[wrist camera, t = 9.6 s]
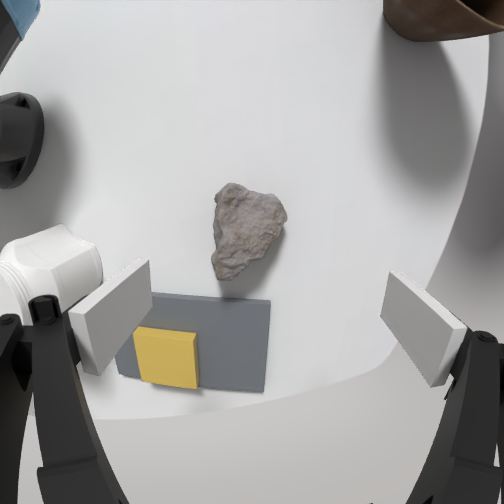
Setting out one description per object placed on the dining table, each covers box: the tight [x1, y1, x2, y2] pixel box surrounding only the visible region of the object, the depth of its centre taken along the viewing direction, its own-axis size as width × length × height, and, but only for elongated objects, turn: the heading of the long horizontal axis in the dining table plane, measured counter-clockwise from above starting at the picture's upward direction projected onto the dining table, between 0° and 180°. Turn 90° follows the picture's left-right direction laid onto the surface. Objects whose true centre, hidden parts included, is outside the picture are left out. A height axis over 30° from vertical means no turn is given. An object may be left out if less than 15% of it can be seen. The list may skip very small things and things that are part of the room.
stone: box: [211, 183, 287, 281], centre depth 31 cm, size 10×8×6 cm
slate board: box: [115, 292, 271, 392], centre depth 37 cm, size 22×14×1 cm, turn 88°
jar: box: [0, 224, 102, 326], centre depth 28 cm, size 12×10×15 cm
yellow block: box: [133, 326, 200, 389], centre depth 36 cm, size 8×2×8 cm
